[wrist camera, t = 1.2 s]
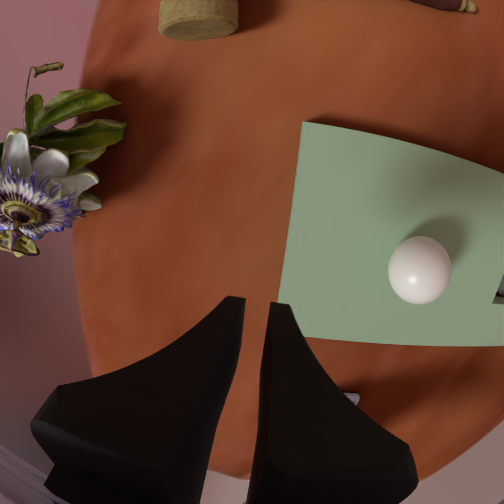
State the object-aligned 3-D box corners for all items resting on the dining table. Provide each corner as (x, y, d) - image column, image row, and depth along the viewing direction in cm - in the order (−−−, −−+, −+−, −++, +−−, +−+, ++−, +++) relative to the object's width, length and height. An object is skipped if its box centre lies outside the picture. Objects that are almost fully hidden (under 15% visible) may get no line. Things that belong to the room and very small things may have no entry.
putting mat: (521, 336, 21) (527, 344, 19) (274, 320, 22) (272, 332, 21) (568, 204, 15) (578, 209, 14) (302, 122, 17) (303, 121, 16)
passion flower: (112, 189, 26) (14, 274, 19) (59, 95, 21) (-48, 169, 14) (175, 162, 18) (19, 295, 11) (100, 25, 13) (-77, 120, 6)
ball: (425, 287, 18) (447, 319, 15) (373, 280, 19) (390, 314, 15) (442, 232, 17) (471, 256, 13) (389, 222, 17) (412, 246, 14)
